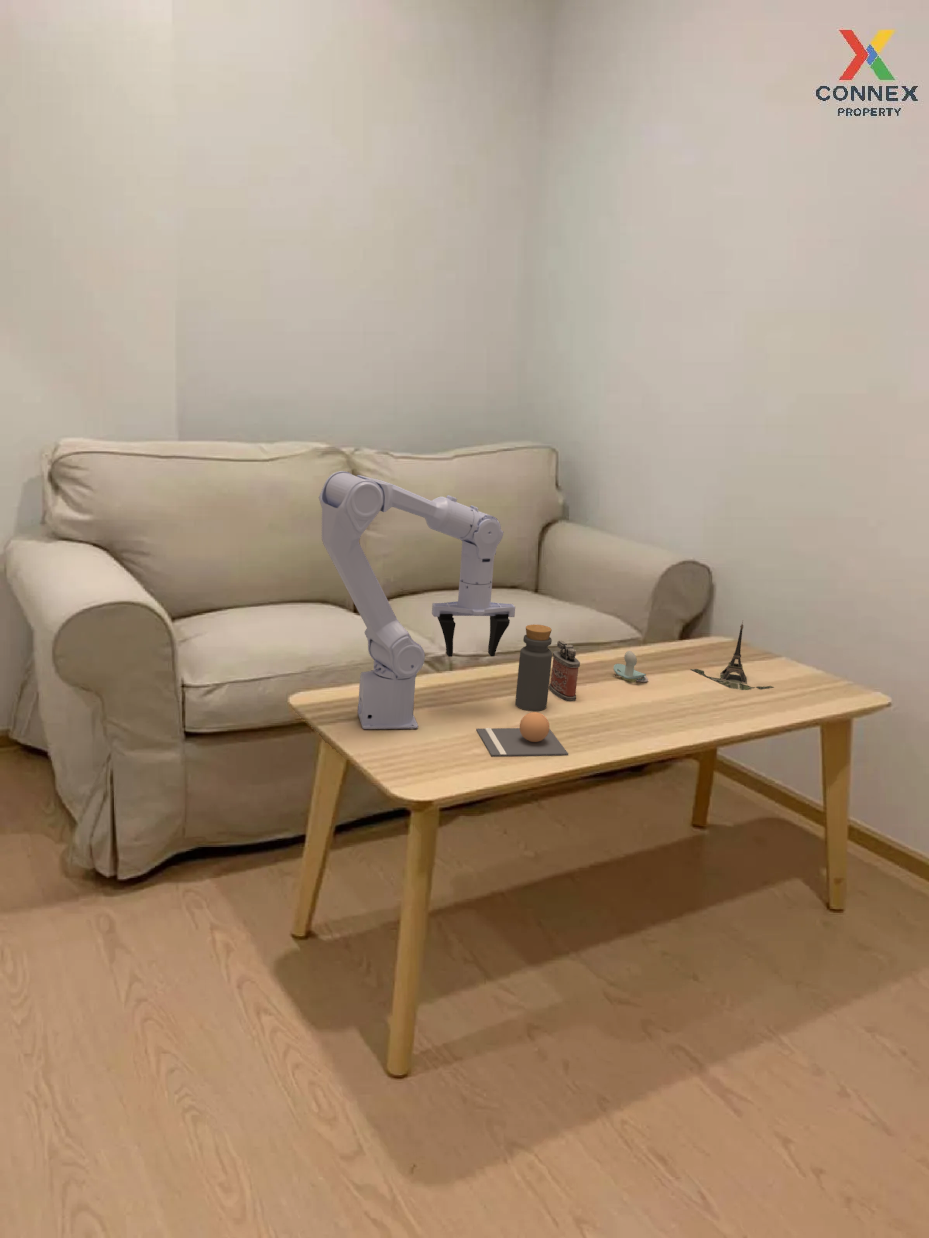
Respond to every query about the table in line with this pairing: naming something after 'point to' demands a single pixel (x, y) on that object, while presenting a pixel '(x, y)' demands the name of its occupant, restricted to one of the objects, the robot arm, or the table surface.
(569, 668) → the lighter
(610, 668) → the table surface
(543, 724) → the ball
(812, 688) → the table surface
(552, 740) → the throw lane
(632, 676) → the pacifier
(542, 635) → the bottle
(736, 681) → the eiffel tower figurine
